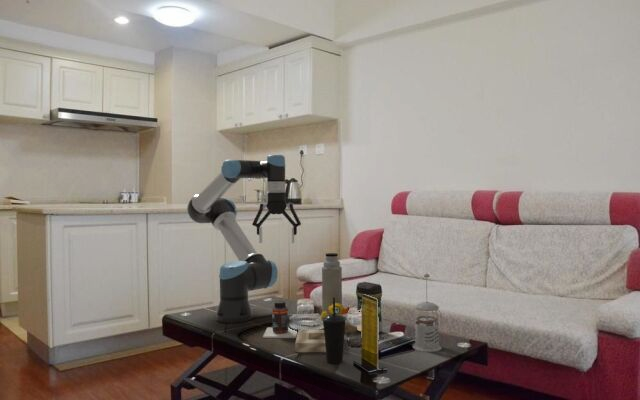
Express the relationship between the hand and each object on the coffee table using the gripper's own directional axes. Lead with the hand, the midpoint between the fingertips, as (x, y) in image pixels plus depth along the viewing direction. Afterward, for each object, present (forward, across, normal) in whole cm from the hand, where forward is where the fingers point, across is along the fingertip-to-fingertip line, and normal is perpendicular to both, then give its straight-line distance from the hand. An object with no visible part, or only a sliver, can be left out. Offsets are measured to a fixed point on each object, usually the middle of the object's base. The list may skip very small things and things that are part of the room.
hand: (276, 242), depth 213 cm
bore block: (+31, +20, -36) cm, 52 cm away
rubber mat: (+31, +5, -23) cm, 39 cm away
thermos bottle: (+32, +23, -7) cm, 40 cm away
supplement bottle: (+31, +4, -23) cm, 39 cm away
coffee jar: (+32, +38, -20) cm, 53 cm away
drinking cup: (+32, +26, -53) cm, 67 cm away
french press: (+32, +57, -37) cm, 75 cm away
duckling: (+32, +25, -16) cm, 43 cm away
